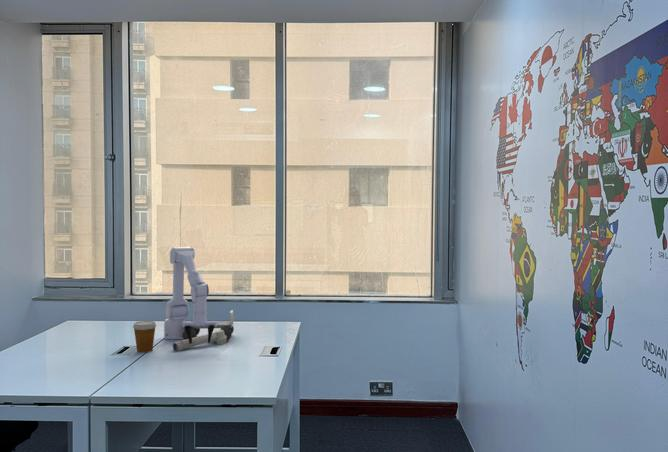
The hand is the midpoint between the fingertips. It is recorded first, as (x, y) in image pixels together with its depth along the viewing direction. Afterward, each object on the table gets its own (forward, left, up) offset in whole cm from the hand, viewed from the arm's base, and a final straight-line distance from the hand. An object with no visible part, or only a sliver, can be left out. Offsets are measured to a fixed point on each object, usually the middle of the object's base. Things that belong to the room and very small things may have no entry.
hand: (199, 343), depth 245 cm
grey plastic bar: (0, +6, -3) cm, 7 cm away
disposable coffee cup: (-23, -1, -3) cm, 23 cm away
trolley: (+1, +21, -3) cm, 21 cm away
